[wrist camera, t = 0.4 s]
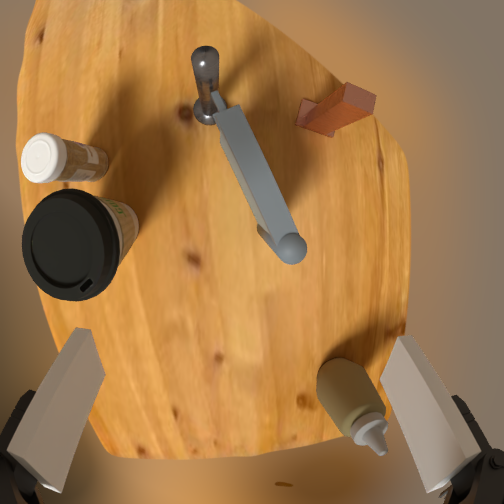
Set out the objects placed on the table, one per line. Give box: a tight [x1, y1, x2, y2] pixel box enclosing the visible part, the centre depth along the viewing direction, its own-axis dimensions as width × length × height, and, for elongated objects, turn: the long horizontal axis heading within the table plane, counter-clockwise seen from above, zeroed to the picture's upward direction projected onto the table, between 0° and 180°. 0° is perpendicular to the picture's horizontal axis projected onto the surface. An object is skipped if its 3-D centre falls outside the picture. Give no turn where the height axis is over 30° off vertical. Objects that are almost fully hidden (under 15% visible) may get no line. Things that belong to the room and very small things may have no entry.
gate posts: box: [191, 46, 376, 138], centre depth 27 cm, size 18×7×16 cm, turn 75°
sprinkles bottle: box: [21, 133, 108, 183], centre depth 27 cm, size 5×5×14 cm
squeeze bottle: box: [316, 358, 388, 456], centre depth 34 cm, size 8×8×18 cm
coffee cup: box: [22, 189, 139, 301], centre depth 28 cm, size 10×10×15 cm
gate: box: [211, 90, 307, 265], centre depth 29 cm, size 16×2×14 cm, turn 25°
